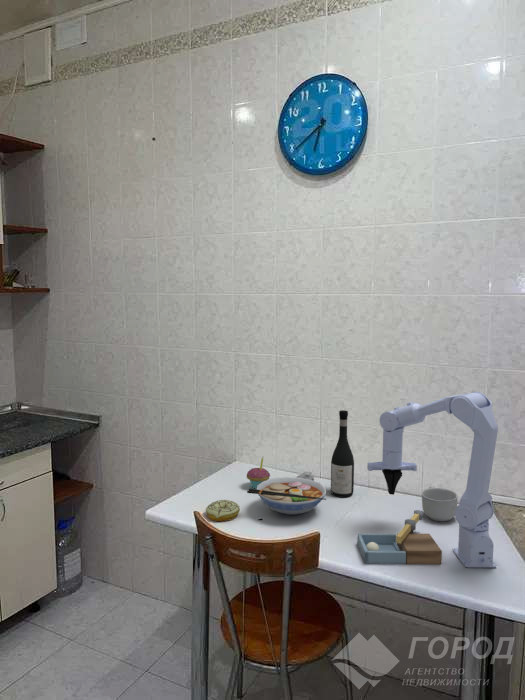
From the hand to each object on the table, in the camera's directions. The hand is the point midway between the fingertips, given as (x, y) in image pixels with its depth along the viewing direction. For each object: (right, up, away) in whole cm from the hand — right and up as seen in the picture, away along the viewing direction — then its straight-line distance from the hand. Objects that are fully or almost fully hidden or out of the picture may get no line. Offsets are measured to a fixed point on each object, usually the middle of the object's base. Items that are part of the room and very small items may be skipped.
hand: (391, 493), depth 154 cm
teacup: (+17, -10, +8) cm, 21 cm away
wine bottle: (-11, -8, +26) cm, 29 cm away
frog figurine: (-24, -7, +29) cm, 38 cm away
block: (+3, -11, -16) cm, 20 cm away
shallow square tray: (-7, -12, -17) cm, 22 cm away
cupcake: (-41, -7, +32) cm, 52 cm away
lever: (+2, -7, -11) cm, 13 cm away
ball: (-9, -11, -19) cm, 24 cm away
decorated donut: (-52, -10, +7) cm, 53 cm away
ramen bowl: (-30, -9, +11) cm, 33 cm away
